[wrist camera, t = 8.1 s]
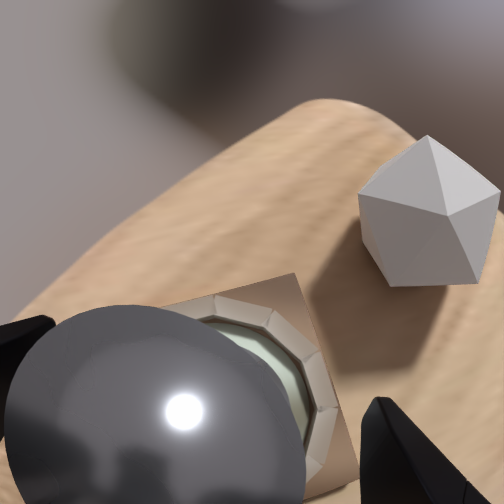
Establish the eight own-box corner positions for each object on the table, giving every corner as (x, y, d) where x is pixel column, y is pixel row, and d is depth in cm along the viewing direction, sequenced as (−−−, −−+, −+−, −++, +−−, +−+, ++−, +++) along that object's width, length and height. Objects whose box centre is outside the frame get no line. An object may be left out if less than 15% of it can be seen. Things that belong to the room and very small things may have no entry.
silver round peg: (303, 458, 13) (433, 568, 2) (166, 489, 12) (37, 612, 1) (263, 330, 16) (304, 177, 5) (131, 362, 15) (-48, 277, 4)
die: (370, 334, 18) (525, 303, 11) (298, 209, 16) (472, 129, 9) (401, 261, 23) (513, 227, 16) (350, 164, 22) (465, 107, 14)
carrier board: (354, 472, 14) (367, 480, 12) (145, 521, 12) (135, 533, 10) (291, 280, 18) (296, 266, 17) (94, 329, 17) (79, 321, 15)
